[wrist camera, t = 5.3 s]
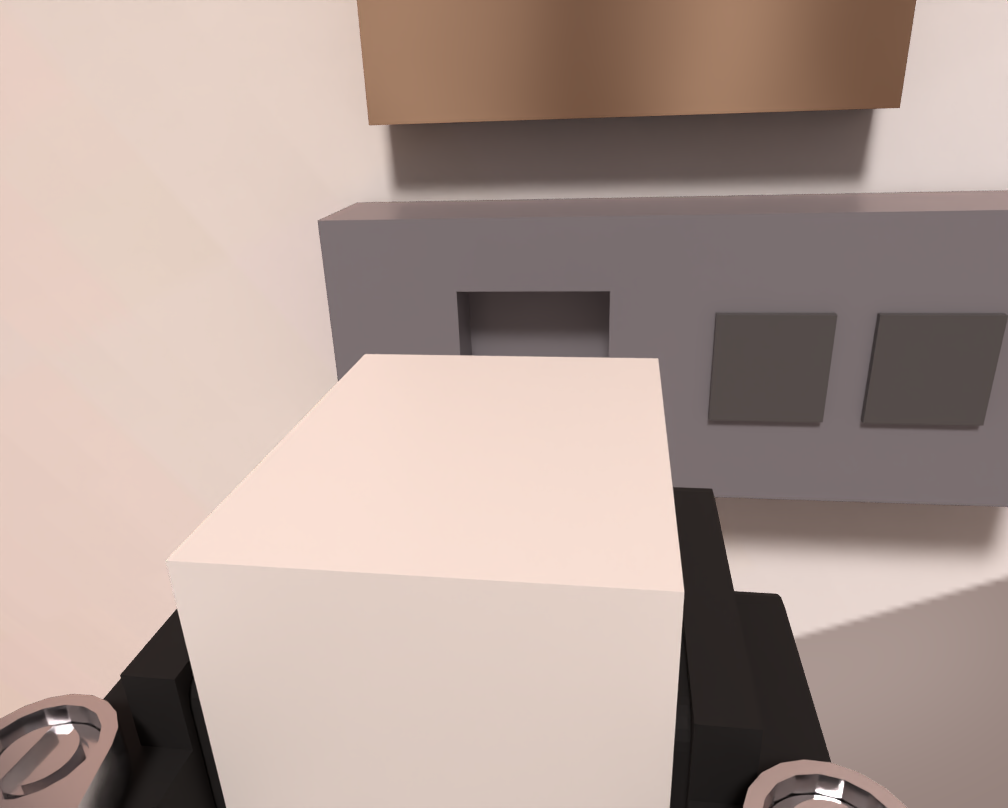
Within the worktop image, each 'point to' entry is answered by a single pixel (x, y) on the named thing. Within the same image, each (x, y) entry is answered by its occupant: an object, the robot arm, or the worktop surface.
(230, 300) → the worktop surface
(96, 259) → the worktop surface
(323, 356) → the worktop surface
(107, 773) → the robot arm
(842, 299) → the power strip
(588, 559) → the block
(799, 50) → the pad
